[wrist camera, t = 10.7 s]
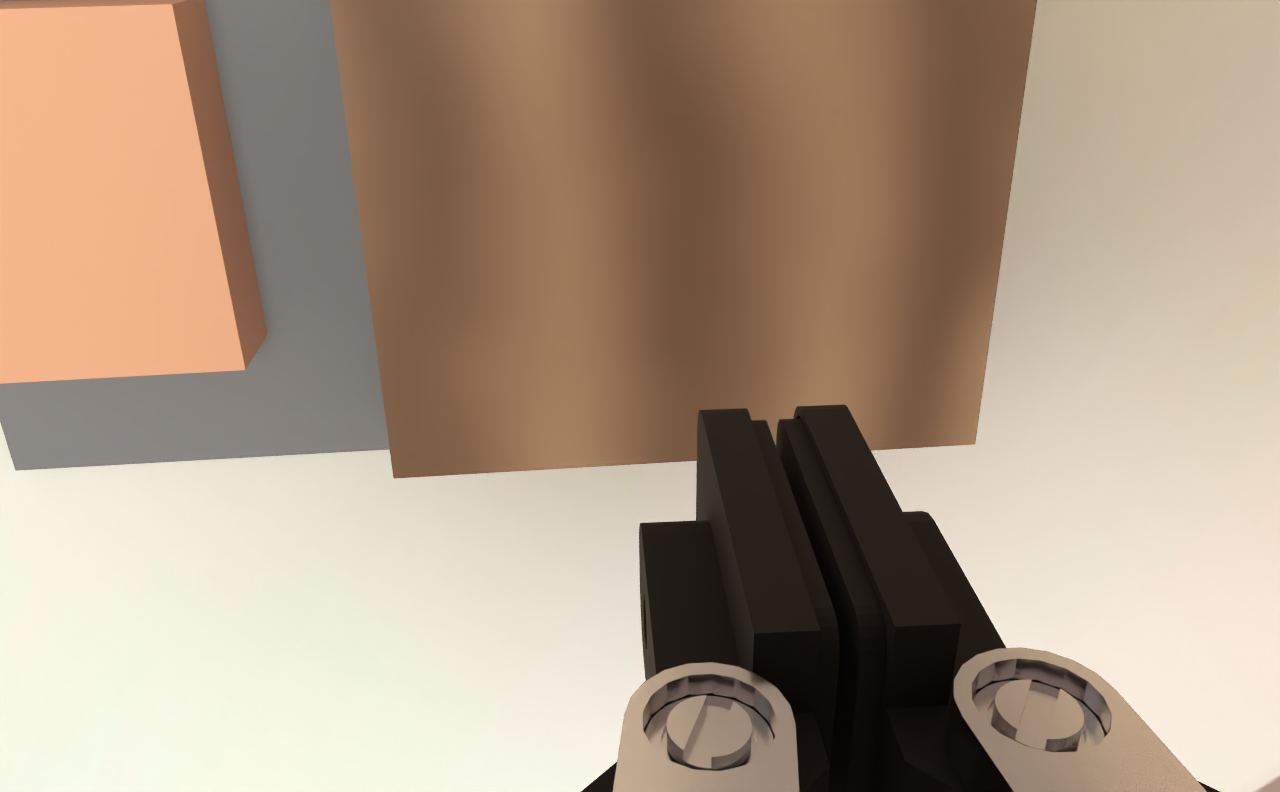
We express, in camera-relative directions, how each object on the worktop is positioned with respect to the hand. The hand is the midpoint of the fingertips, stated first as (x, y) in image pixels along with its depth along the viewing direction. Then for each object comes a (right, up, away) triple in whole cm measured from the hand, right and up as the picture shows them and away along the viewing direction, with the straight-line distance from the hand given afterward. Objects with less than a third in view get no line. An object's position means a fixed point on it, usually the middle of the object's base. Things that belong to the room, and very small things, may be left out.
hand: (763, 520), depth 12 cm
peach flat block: (-15, +6, +13) cm, 21 cm away
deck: (-1, +8, +17) cm, 19 cm away
